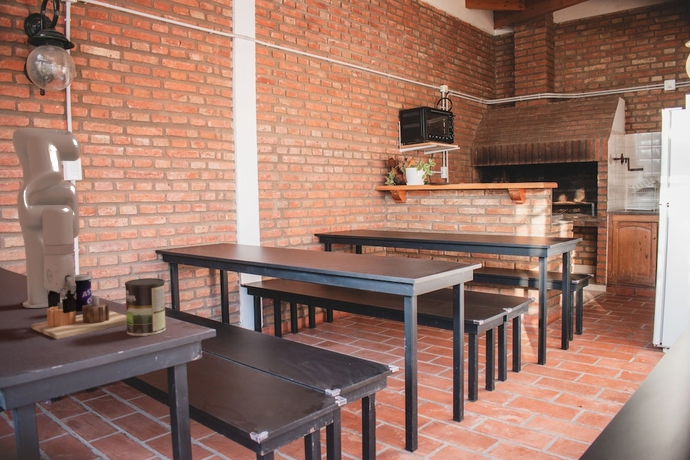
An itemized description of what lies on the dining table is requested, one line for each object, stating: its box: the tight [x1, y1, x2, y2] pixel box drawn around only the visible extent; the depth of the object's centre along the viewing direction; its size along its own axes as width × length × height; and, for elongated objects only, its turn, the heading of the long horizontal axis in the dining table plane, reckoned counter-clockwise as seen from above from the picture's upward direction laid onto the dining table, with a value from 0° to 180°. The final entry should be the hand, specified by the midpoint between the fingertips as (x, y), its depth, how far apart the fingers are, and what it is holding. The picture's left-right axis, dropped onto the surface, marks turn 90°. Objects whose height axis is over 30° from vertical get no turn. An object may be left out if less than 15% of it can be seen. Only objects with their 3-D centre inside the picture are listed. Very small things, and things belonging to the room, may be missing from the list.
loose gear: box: [46, 306, 77, 327], centre depth 147 cm, size 7×7×4 cm
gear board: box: [30, 295, 127, 340], centre depth 149 cm, size 17×22×8 cm
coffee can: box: [124, 277, 167, 337], centre depth 142 cm, size 10×10×14 cm
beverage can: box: [75, 273, 93, 315], centre depth 165 cm, size 6×6×12 cm
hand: (61, 309), depth 147 cm, fingers open, 9 cm apart
